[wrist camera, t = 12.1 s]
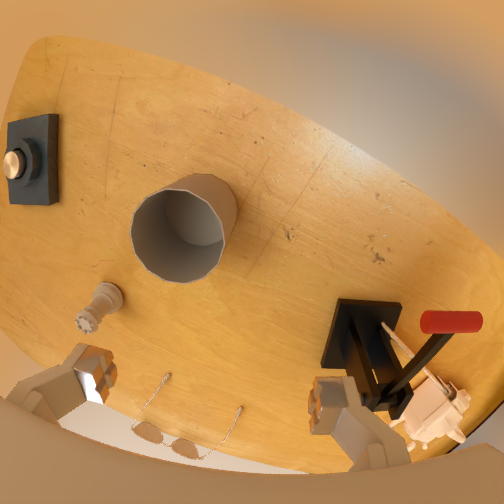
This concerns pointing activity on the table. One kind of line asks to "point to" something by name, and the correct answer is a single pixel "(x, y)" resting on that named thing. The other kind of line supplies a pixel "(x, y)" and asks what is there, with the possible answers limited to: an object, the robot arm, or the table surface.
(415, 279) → the table surface
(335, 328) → the press bracket
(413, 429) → the chainsaw
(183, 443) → the eyeglasses
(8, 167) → the gold dial knob
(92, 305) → the rook chess piece
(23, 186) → the button block
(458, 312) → the press lever
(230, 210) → the cup
